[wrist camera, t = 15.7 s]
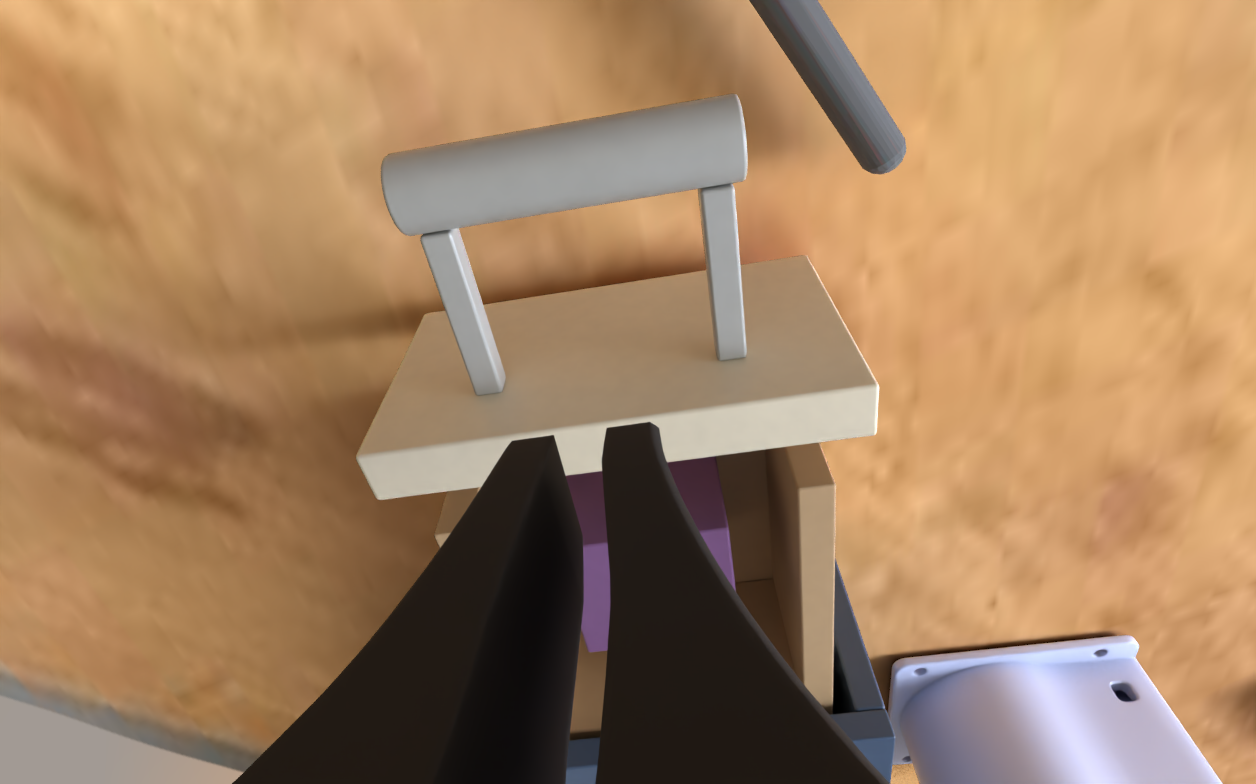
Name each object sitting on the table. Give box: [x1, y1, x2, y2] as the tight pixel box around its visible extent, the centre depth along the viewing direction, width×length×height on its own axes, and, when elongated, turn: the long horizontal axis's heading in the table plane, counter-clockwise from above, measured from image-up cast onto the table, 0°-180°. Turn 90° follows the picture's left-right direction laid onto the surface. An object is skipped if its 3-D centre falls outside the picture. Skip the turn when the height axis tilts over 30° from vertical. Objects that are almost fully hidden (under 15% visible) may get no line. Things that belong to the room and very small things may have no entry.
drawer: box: [356, 94, 879, 740], centre depth 17 cm, size 16×10×6 cm, turn 9°
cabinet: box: [566, 559, 895, 784], centre depth 25 cm, size 13×11×8 cm
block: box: [566, 456, 736, 652], centre depth 18 cm, size 4×4×4 cm
